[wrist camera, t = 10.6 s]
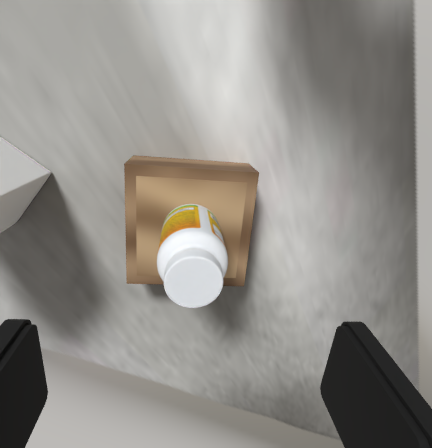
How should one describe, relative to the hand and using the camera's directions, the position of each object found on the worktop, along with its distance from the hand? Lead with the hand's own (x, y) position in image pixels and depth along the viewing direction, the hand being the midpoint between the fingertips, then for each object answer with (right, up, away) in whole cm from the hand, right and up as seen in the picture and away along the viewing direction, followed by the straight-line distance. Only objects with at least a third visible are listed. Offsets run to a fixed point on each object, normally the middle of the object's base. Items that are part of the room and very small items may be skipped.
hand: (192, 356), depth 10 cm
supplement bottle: (-2, +4, +20) cm, 20 cm away
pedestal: (-2, +5, +24) cm, 25 cm away
